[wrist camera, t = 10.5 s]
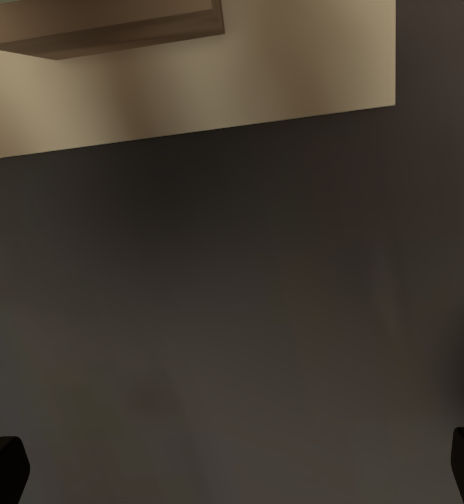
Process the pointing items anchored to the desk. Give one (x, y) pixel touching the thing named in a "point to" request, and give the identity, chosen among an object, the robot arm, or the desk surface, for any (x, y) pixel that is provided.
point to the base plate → (184, 66)
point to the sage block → (5, 0)
